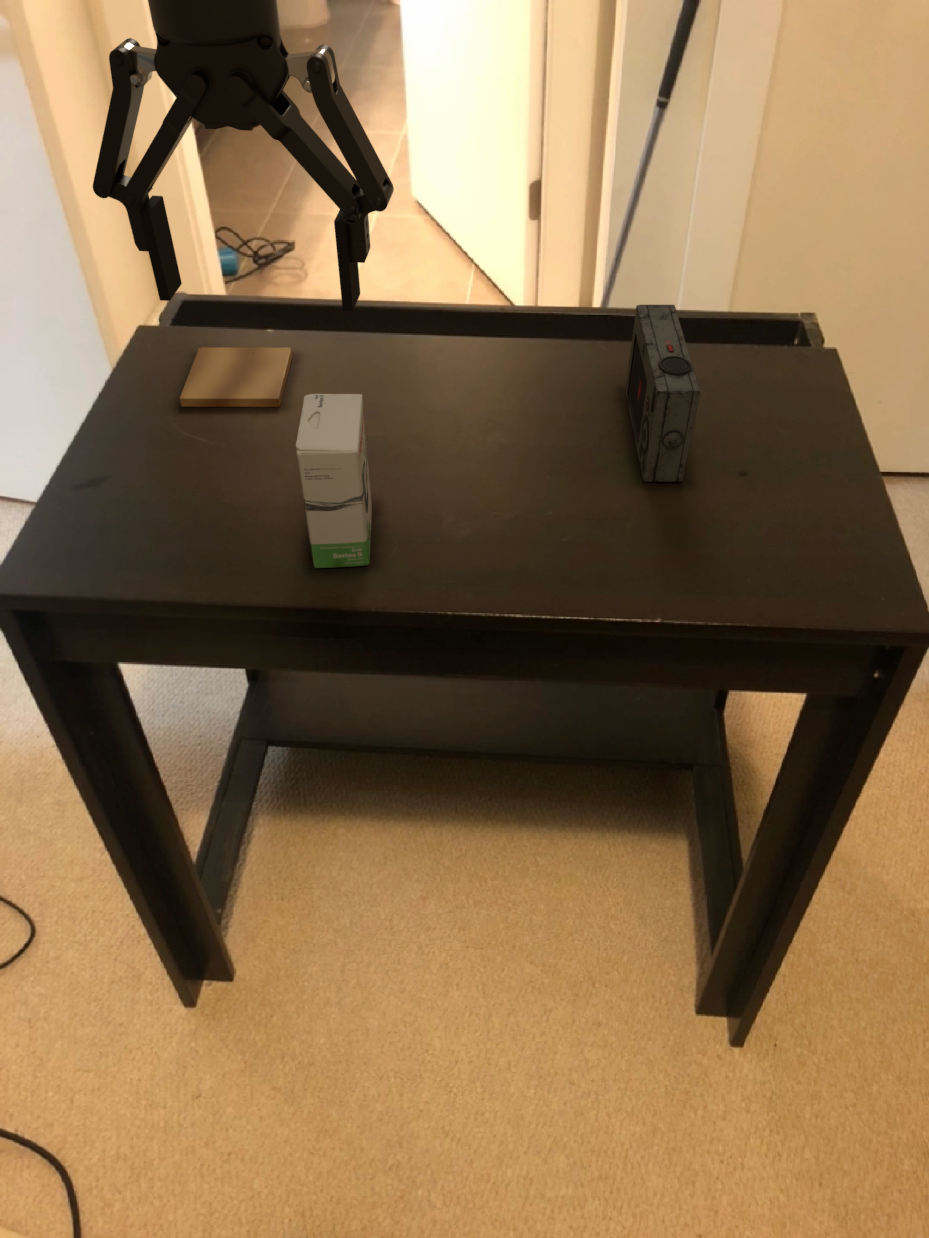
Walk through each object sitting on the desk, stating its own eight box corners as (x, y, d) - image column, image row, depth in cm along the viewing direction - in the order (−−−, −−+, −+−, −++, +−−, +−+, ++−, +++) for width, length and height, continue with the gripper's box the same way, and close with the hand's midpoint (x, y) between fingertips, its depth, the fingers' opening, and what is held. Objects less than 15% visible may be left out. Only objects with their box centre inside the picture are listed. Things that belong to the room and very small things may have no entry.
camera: (686, 490, 90) (705, 395, 83) (643, 490, 90) (658, 395, 83) (661, 392, 101) (676, 301, 94) (623, 392, 101) (635, 301, 94)
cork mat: (181, 407, 99) (179, 398, 99) (200, 355, 106) (198, 347, 106) (279, 407, 99) (278, 398, 99) (292, 355, 106) (291, 347, 106)
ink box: (370, 568, 82) (359, 452, 74) (311, 570, 82) (293, 453, 74) (373, 503, 88) (363, 389, 80) (318, 505, 88) (302, 391, 80)
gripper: (427, -55, 59) (436, 282, 74) (28, -65, 61) (116, 265, 76) (407, -24, 53) (420, 332, 68) (-29, -36, 55) (77, 312, 71)
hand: (260, 297), depth 72 cm, fingers open, 13 cm apart
